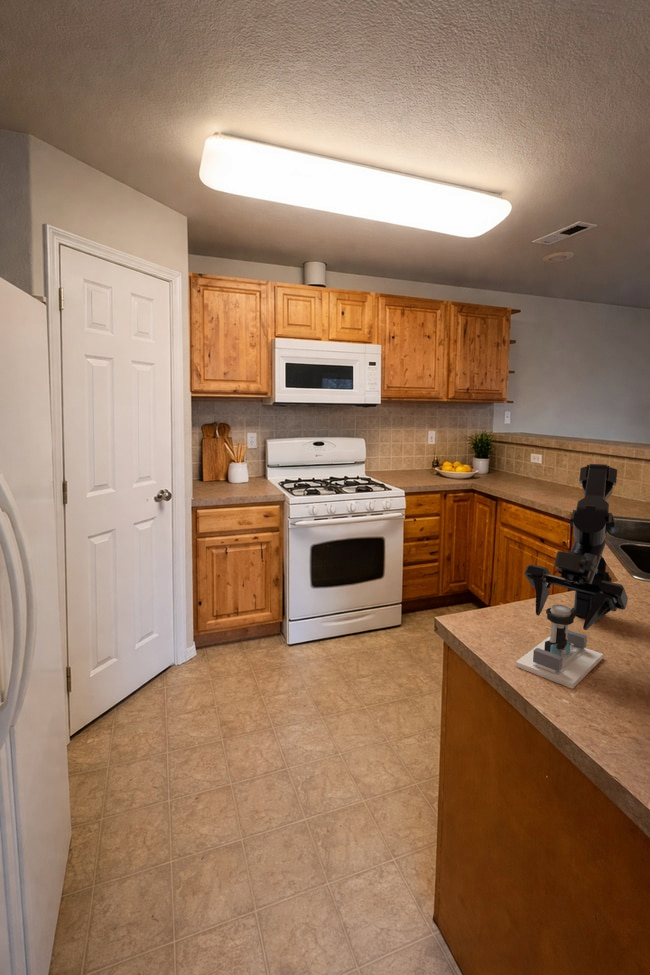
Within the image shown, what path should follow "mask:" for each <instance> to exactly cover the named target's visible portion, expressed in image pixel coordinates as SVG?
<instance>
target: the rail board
mask: <svg viewBox="0 0 650 975" xmlns="http://www.w3.org/2000/svg"><path fill="white" fill-rule="evenodd" d="M550 636H551V635H550ZM550 636H547V637H546V638H545V639H544V640H543V641H541V642H540V643H539V644H537V645H536V646H535V647H533V648H532V649H531V650H529V651H528V652H526V654H524V655H523V656H521V657H520V658H519V659H518V660H516V661H515V667H516V668H518V669H521V670H523V671H526V672H529V673H532V674H534V675H536V676H539V677H540V678H541V677H542V678H544V679H547V680H549V681H552V682H554V683H557V684H559V685H562V686H564V687H567V688H569V689H572V690H573V689H575V687H576V686H577V685H578V684H579V683H580V682H581V681H582V680H584V678H585V677H586V676H587V675H588V674H589V673H590V671H592V670H593V669H594V668H595V667H596V666H597V665H598V664H599V663H600V662H601V661H602V660H603V659H604V658H603V657H604V654H603V653H601V652H598V651H596V650H592V649H589V648H587V642H588V640H587V639H588V635H585V634H584V633H583V634H582V633H580V632H575V631H573V630H569V629H568V634H567V638H568V640H567V641H568V642H570V643H572V644H574V645H573V646H570V647H572V648H574V649H573V650H570V654H568V655H566V656H565V657H562V656H559V655H556V654H554V653H551V652H548V651H545V650H544V649H545V642H546V641H549V640H550ZM572 644H571V645H572ZM572 648H570V649H572Z"/></svg>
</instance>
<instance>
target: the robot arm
mask: <svg viewBox="0 0 650 975" xmlns="http://www.w3.org/2000/svg"><path fill="white" fill-rule="evenodd" d="M579 469H580V471H579V478H578V479H579V480H578V482H579V484H580V485H581V484H582V485H581V488H582V494H583V495H584V497H583V498H581V499H580V500H578V501H577V504H576V509H572V513H571V517H570V520H569V521H570V522H569V524H570V527H573V538H574V541H573V544H572V546H571V549H570V551H567V552H566V551H559V550H557V552H556V557H555V560H554V564H553V566H554V567H557V569H556V570H557V573H558V574H560V576H559V575H554V574H551V573H550V571H549V569H548V567H546V566H541V565H536V564H530V565H528V566H527V567H526V569H524V570H525V571H524V576H525V577H526V579H527V581H528V583H529V585H531V586H532V587H533V588H534V590H535V614H536V616H538V617H540V614H542V611H543V609H544V606H545V605H546V602H547V599H548V597H549V594H550V590H549V589H551V587H552V585H554V586H558V587H561V588H564V589H565V588H566V589H568V590H569V591H574V601H573V604H574V605H573V607H572V608H570V609H571V611H572V612H573V613H574V614H575V616H577V617H581V618H584V623H583V627H582V628H583V630H584V631H587V630H588V629H590V627H591V626H593V625H594V624H595V623H597V621H599V620H600V619H601V618H602V617H604V616H605V615H607V614H608V613H610V612H617V609H618V610H626V607H627V605H628V601H629V600H628V595H627V592H626V588H625V587H624V585H622V584H621V583H620V584H619V583H616V582H612V577H611V576H610V571H606V570H607V563H606V559H605V558H604V557H603V553H604V550H605V548H606V546H607V541H606V533H608V531H611V530H612V528H615V524H616V523H615V522H616V521H615V520H616V518H615V517H614V514H613V513H612V512H610V511H609V510H610V503H609V502H608V501H607V500H609V498H610V497H611V495H612V494H613V490H614V489H613V488H614V486H615V487H616V486H617V479H618V469H616V468H613V467H610V465H608V464H607V463H606V464H605V463H589V464H586V466H583V467H580V468H579Z"/></svg>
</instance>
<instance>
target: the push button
mask: <svg viewBox="0 0 650 975" xmlns="http://www.w3.org/2000/svg"><path fill="white" fill-rule="evenodd" d="M571 609H572V608H570V607H568V606H567V605H562V604H553V605H551V607H549V608H546V609H545V614H546V619H547V620H548V621H549V622H550V624H551V625H550V640H549V641H546V642H545V649H544V650H545V651H548V652H551V653H554V654H556V655H559V656H562V657H565V656H566V655H568V654H570V650H573V649H574V648H572V647H570V646H573V645H574V644H572V643H570V642H568V641H567V640H568V638H567V634H568V630H569V625H572V624H573V623H574V620H575V618H576V615H575V614H574V613H573V612H572V611H571ZM571 644H572V645H571ZM570 648H572V649H570Z"/></svg>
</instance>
